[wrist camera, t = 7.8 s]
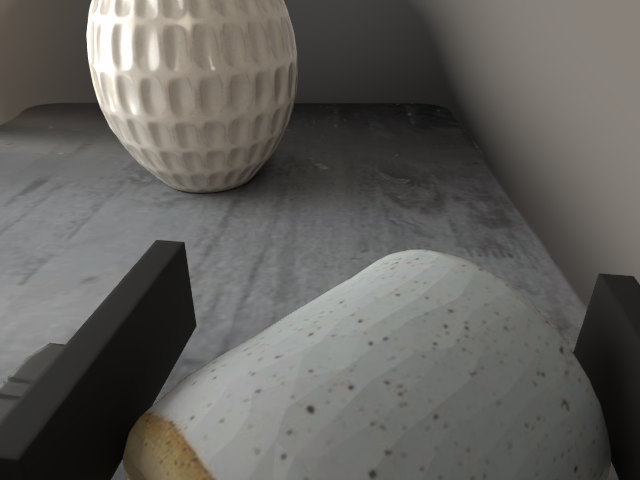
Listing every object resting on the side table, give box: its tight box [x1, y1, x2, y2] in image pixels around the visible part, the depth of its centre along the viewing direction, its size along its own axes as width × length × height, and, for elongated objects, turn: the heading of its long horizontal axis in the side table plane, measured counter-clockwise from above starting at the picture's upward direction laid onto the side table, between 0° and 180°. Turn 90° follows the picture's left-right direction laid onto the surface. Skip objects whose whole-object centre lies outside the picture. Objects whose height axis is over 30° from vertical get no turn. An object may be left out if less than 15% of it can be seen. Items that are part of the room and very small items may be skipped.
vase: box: [87, 0, 298, 193], centre depth 32 cm, size 13×13×17 cm
